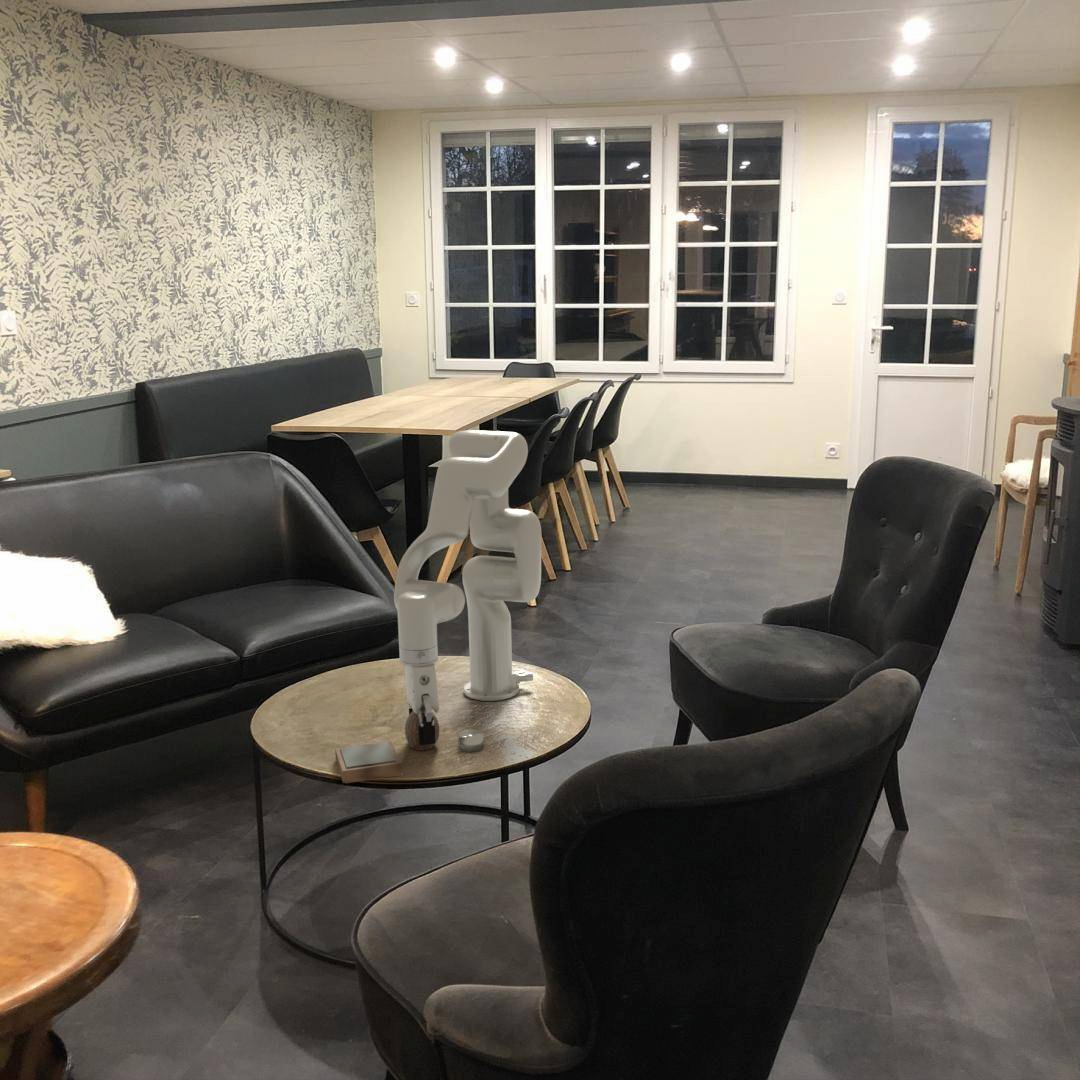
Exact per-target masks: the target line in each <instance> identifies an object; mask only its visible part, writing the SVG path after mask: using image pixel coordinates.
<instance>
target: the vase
mask: <svg viewBox="0 0 1080 1080" xmlns="http://www.w3.org/2000/svg"><path fill="white" fill-rule="evenodd" d="M420 710H424V709H420ZM424 716H425V715H422V719H423V717H424ZM433 717H434V724H435V743H434V744H429V745H420V744H419V734H418V726H419V725H420V724H419V718H418V714H416V713H415V712H414V711H412V713H411V714H410V715H409V714H408V717H407V718H406V721H405V724H404V735H405V740H406V742H407V744H408V745H409V746H410V748H413V749H414V750H415V751H427V750H430V749H432V748H433V747H435V746H436V744H437V742H438V740H439V737H440V723H439V721H438V718H437V716H436V715H435V713H433Z"/></svg>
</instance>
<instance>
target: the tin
mask: <svg viewBox="0 0 1080 1080" xmlns="http://www.w3.org/2000/svg"><path fill="white" fill-rule="evenodd" d="M457 741H458V743H457V744H458V751H460V752H462V753H463V754H475V753H479V752H482V751H483V750H484V748H485V747H484V746H485V745H484V742H485V741H484V733H483V731H481V730H478V729H466V730H462V731H460V732H458V734H457Z"/></svg>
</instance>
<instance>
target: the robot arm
mask: <svg viewBox="0 0 1080 1080" xmlns="http://www.w3.org/2000/svg"><path fill="white" fill-rule="evenodd" d="M528 447H529V446H528V443H527V441H526V439H525V437H524V436H523V435H522V434H521V433H518V432H515V431H500V430H495V431H494V430H484V429H483V430H477V429H473V430H472V429H468V430H467V429H465V430H460V431H457V432H454V433H453V434H452V435H451V436H450V438H449V442H448V448H449V449H448V450H449V454H450V456H451V457H449V458H446V459H444V460H442V461H441V462H440V464H439V465H438V468H437V471H436V475H435V480H434V487H433V492H432V499H431V503H430V504H431V505H430V510H429V514H428V521H427V526H426V528H425V530H424V531H423V532H422V533H420V535H419V536H418V537H416V539H415V540H414V541H413V542H412V543H411V544H410V546H409V547H408V548H407V549H406V551H405V553H404V554H403V556H402V558H401V559H400V561H399V565H398V569H397V573H396V579H395V584H394V592H393V601H394V607H395V609H396V610H397V626H398V627H397V629H398V631H397V632H398V650H399V663H400V664H401V665H403V666H404V669H405V671H404V673H405V678H404V679H405V691H406V699H407V702H408V706H409V707H408V716H409V715H410V714H411V713H412V711H414V712H415V713H416V714H418V718H419V724H420V725H419V726H418V734H419V744H420V745H429V744H434V743H435V724H434V717H433V714H434V713H433V712H435V713H438V712H439V710H440V704H439V694H438V693H439V692H438V679H437V673H436V666H435V664H436V663H437V662H438V661H439V648H438V644H439V643H438V626H437V625H438V624H440V623H443V622H448V621H452V620H454V619H455V618H457V617H458V616H459V615H460V614H462V612H463V610H464V608H465V604H466V605H467V618H468V620H467V621H468V643H469V644H468V645H469V646H468V649H469V651H468V653H469V674H470V675H469V677H470V679H469V680H470V681H469V682H467V683H466V684H464V686H463V694H464V695H465V696H466V697H468V698H470V699H473V700H477V701H483V702H494V701H502V700H507V699H511V698H513V697H514V696H516V695H518V694H519V692H520V684H521V682H532V681H534V675H533V673H532V672H525V670H521V671H520V670H519V671H514V670H513V659H512V657H513V653H512V652H513V651H512V650H513V649H512V646H513V645H512V619H511V618H512V617H511V612H510V611H509V609H508V606H507V605H506V603H505V602H514V603H515V602H516V603H518V602H519V603H529V602H532V601H534V600H535V599H536V598H537V597H538V596H539V592H540V589H541V584H542V583H541V581H542V542H543V541H542V527H541V526H542V525H541V522H540V519H539V517H538V516H537V514H535V512H533V511H531V510H528V509H523V508H511V507H510V506H509V505H510V504H509V488H510V487H511V485H512V484H513V482H514V481H515V479H516V478H517V476H518V475H519V474H520V473H521V471H522V470H523V468H524V466H525V465H526V462H527V459H528V454H529V448H528ZM468 535H469V538H470V542H471V543H472V545H473V546H474V548H478V549H480V550H483V551H484V550H486V551H495V552H506V553H513V554H514V557H506V556H495V555H493V556H492V555H477V556H474V557H472V558H469V559H468V560H467V561H466V562H465V564H464V566H463V567H462V569H463V570H462V576H461V577H462V584H463V585H462V586H463V589H462V588H461V587H460V586H459V585H457V584H454V583H450V582H444V581H443V582H441V581H435V580H434V581H431V580H423V579H419V574H420V572H421V571H420V570H421V569H422V567H423V565H424V563H425V562H426V561H427V560H428V558H430V557H431V556H432V555H433V554H435V553H436V552H439V551H441V550H442V549H445V548H447V547H449V546H452V545H454V544H457V543H459V542H462V541H464V540H465V539H466V538H467V537H468ZM420 709H424V710H420ZM422 715H425V716H424V717H423V719H422Z"/></svg>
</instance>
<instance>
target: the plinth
mask: <svg viewBox="0 0 1080 1080" xmlns="http://www.w3.org/2000/svg"><path fill="white" fill-rule="evenodd" d="M334 753H335V754H334V755H335V762H336V765H337V766H336V767H338V768H337V769H338V771H339V774H340V779H341V781H342V784H343V783H345V784H351V783H355V782H356V783H357V782H364V781H365V782H366V781H371V780H379V779H385V778H392V777H399V775H400V776H402V773H403V772H402V761H401V759H400V757H399V756H398V754H397V751H396V749H395V747H394V744H393V743H392V741H391V740H389V741H381V742H374V743H367V744H359V745H352V746H350V745H349V746H345V747H336V748H335V749H334Z"/></svg>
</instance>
